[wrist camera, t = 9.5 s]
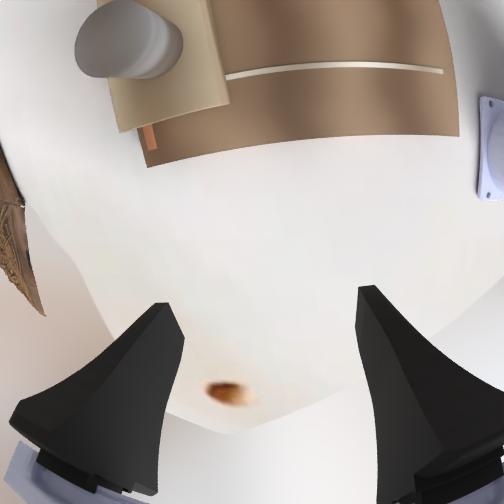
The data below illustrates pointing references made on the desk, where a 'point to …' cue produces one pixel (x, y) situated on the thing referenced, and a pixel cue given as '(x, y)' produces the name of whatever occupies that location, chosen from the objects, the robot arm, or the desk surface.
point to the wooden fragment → (15, 239)
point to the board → (319, 76)
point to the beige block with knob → (154, 58)
